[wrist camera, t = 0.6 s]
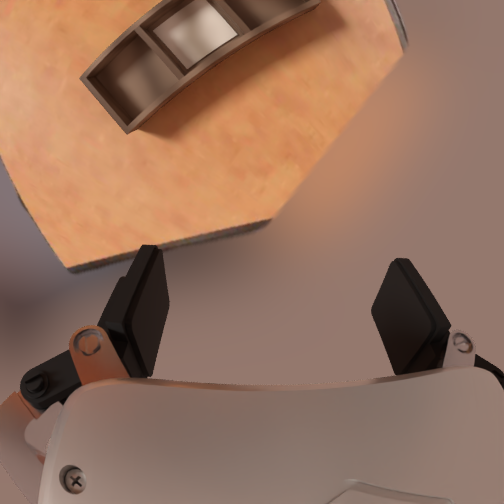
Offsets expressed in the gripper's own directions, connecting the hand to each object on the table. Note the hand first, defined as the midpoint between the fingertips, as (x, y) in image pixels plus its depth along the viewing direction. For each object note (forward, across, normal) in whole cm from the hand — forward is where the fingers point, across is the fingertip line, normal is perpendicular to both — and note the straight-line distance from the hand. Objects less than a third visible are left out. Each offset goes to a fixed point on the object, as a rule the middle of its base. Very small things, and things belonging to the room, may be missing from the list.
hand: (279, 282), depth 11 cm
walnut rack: (+31, +9, -15) cm, 36 cm away
